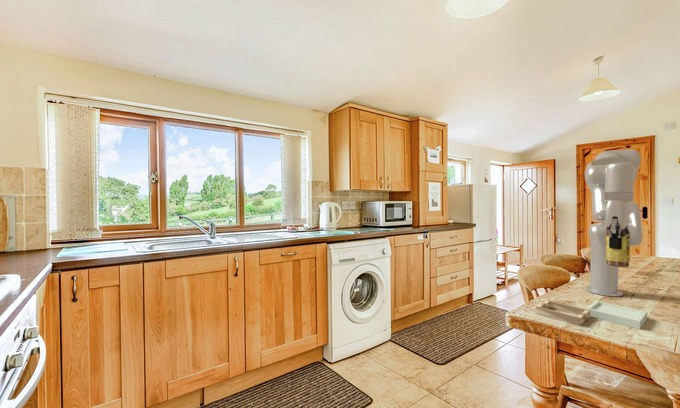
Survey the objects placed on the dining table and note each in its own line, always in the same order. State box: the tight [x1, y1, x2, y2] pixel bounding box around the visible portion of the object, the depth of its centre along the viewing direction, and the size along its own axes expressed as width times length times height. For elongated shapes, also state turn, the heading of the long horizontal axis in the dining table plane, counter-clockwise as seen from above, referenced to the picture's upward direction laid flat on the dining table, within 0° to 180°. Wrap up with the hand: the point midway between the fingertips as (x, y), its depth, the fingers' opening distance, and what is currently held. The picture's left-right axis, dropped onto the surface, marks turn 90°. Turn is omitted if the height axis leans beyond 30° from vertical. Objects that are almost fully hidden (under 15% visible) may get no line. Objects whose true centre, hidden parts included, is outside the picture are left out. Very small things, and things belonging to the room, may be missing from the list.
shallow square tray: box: [584, 300, 648, 330], centre depth 106 cm, size 14×14×2 cm
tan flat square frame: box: [534, 299, 590, 327], centre depth 107 cm, size 12×13×2 cm
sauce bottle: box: [606, 224, 631, 268], centre depth 105 cm, size 7×6×20 cm
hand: (617, 247), depth 105 cm, fingers closed on sauce bottle, 6 cm apart
